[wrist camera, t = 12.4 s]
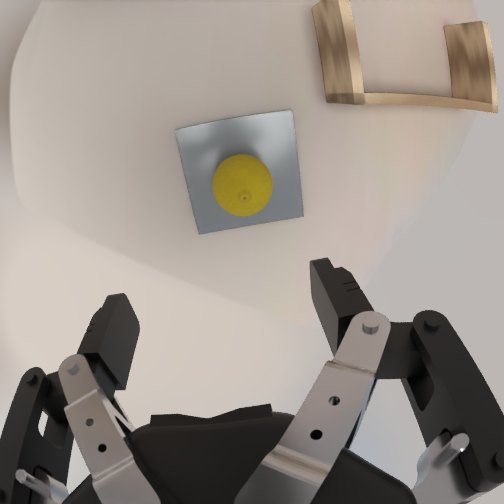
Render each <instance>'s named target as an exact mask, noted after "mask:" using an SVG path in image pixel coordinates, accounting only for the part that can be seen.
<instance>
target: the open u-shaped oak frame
mask: <svg viewBox="0 0 504 504" xmlns="http://www.w3.org/2000/svg"><path fill="white" fill-rule="evenodd" d="M312 12H313V17H314V22H315V28H316V33H317V39H318V44H319V50H320V57H321V63H322V70H323V77H324V84H325V91H326V99H327V102H328V103H342V104H353V105H360V104H401V105H425V106H440V107H452V108H461V109H470V110H478V111H485V112H492V113H498V106H497V89H496V88H497V87H496V75H495V67H494V58H493V52H492V45H491V39H490V34H489V28H488V23H486V22H483V21H478V22H469V23H461V24H455V25H448V26H444V31H445V37H446V42H447V49H448V56H449V63H450V72H451V82H452V95H453V97H445V96H435V95H423V94H408V93H380V92H364V87H363V79H362V71H361V64H360V57H359V50H358V44H357V38H356V33H355V27H354V22H353V17H352V12H351V7H350V3H349V0H321V1H320V2H319V3H318V4H317V5H316V6H315V7H314V8H313V9H312Z"/></svg>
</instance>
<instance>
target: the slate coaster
mask: <svg viewBox="0 0 504 504" xmlns="http://www.w3.org/2000/svg"><path fill="white" fill-rule="evenodd" d="M175 133H176V138H177V143H178V147H179V152H180V156H181V161H182V165H183V170H184V174H185V179H186V183H187V187H188V192H189V196H190V200H191V204H192V208H193V212H194V216H195V221H196V225H197V229H198V232H199V234H204V233H210V232H216V231H221V230H227V229H232V228H238V227H244V226H250V225H256V224H262V223H268V222H274V221H280V220H286V219H292V218H298V217H304V213H303V202H302V191H301V181H300V172H299V162H298V153H297V145H296V137H295V129H294V121H293V113H292V110H286V111H277V112H269V113H262V114H255V115H248V116H241V117H235V118H229V119H224V120H218V121H213V122H208V123H203V124H198V125H193V126H189V127H184V128H180V129H176V130H175ZM238 154H247V155H251V156H254V157H256V158H258V159H259V160H261V161H262V162H263V163H264V164H265V165H266V166H267V168H268V169H269V171H270V173H271V176H272V180H273V190H272V194H271V198H270V199H269V201H268V203H267V205H266V206H265V207H264V208H263V209H262V210H260V211H259V212H257V213H255V214H253V215H250V216H236V215H233V214H230V213H229V212H227V211H226V210H224V209H223V208H222V207H221V206H220V205H219V204H218V202H217V200H216V198H215V196H214V193H213V188H212V184H213V177H214V174H215V171H216V169H217V168H218V166H219V165H220V164H221V163H222V162H223V161H224V160H225V159H227V158H229V157H231V156H234V155H238Z"/></svg>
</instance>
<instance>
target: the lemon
mask: <svg viewBox="0 0 504 504" xmlns="http://www.w3.org/2000/svg"><path fill="white" fill-rule="evenodd" d="M212 188H213V193H214V196H215V198H216V200H217V202H218V204H219V205H220V206H221V207H222V208H223V209H224V210H226V211H227V212H229V213H230V214H233V215H236V216H250V215H253V214H255V213H257V212H259V211H260V210H262V209H263V208H264V207H265V206H266V205H267V203H268V201H269V199H270V198H271V194H272V190H273V180H272V176H271V173H270V171H269V169H268V168H267V166H266V165H265V164H264V163H263V162H262V161H261V160H259V159H258V158H256V157H254V156H251V155H247V154H238V155H234V156H231V157H229V158H227V159H225V160H224V161H223V162H222V163H221V164H220V165H219V166H218V168H217V169H216V171H215V174H214V177H213V184H212Z"/></svg>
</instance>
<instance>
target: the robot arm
mask: <svg viewBox="0 0 504 504" xmlns="http://www.w3.org/2000/svg"><path fill="white" fill-rule="evenodd" d="M310 280H311V294H312V300H313V303H314V306H315V309H316V311H317V314H318V317H319V319H320V322H321V324H322V327H323V329H324V332H325V335H326V337H327V340H328V343H329V345H330V348H331V351H332V353H333V355H334V359H333V360H332V361H327V362H326V363H325V365H324V367H323V368H322V370H321V372H320V374H319V376H318V378H317V380H316V381H315V383H314V385H313V387H312V389H311V390H310V392H309V394H308V395H307V397H306V399H305V401H304V402H303V404H302V406H301V407H300V409H299V411H298V413H297V414H296V416H294V415H291V414H288V413H282V412H272V408H271V404H265V405H259V406H252V407H245V408H239V409H236V410H233V411H230V412H227V413H224V414H221V415H218V416H215V417H212V418H200V417H194V416H188V415H182V414H164V415H151V420H150V424H147V425H144V426H141V427H139V428H137V429H135V428H134V426H133V425H132V423H131V422H130V420H129V418H128V417H127V415H126V414H125V412H124V410H123V408H122V407H121V405H120V403H119V402H118V400H117V398H116V397H115V396H114V393H115V390H125V389H126V385H127V380H128V376H129V372H130V368H131V363H132V359H133V355H134V351H135V348H136V344H137V340H138V336H139V332H140V326H139V321H138V319H137V317H136V315H135V312H134V310H133V308H132V306H131V304H130V302H129V300H128V298H127V296H126V295H125V294H124V293H120V294H114V295H108V296H107V298H106V300H105V302H104V304H103V306H102V308H100V309H99V310H98V311H97V312H96V313H95V314H94V315H93V317H92V319H91V321H90V326H88V328H87V330H86V331H87V332H86V333H85V335H84V337H83V340H82V342H81V344H80V347H79V349H78V352H77V354H75V355H72V356H69V357H68V358H66V359H65V360H64V361H63V362H62V363H61V365H60V367H59V370H58V371H57V372H54V373H51V374H48V375H46V374H45V373H44V371H43V370H42V369H41V368H39V367H34V368H31V369H29V370H28V371H27V372H26V373H25V374H24V375H23V376H22V378H21V381H20V383H19V386H18V388H17V391H16V393H15V396H14V399H13V401H12V404H11V407H10V410H9V413H8V416H7V419H6V422H5V425H4V428H3V431H2V435H1V438H0V504H466V503H468V502H470V501H472V500H474V499H476V498H478V497H480V496H482V495H484V494H485V493H487V492H489V491H491V490H492V489H494V488H496V487H497V486H499V485H501V484H502V483H504V415H503V413H502V411H501V409H500V407H499V405H498V403H497V401H496V399H495V398H494V395H493V393H492V392H491V390H490V388H489V386H488V384H487V383H486V381H485V379H484V377H483V375H482V374H481V372H480V370H479V369H478V367H477V365H476V363H475V362H474V360H473V358H472V357H471V355H470V354H469V352H468V351H467V349H466V347H465V346H464V344H463V342H462V341H461V339H460V338H459V336H458V335H457V333H456V332H455V330H454V329H453V327H452V326H451V324H450V323H449V321H448V320H447V318H446V317H445V316H444V315H442V314H441V313H439V312H436V311H433V310H425V311H421V312H419V313H418V314H416V316H415V317H414V319H413V322H403V323H402V322H401V323H398V322H397V323H396V322H390V321H389V319H388V318H387V317H386V316H384V315H383V314H381V313H379V312H375V311H374V310H373V308H372V306H371V304H370V303H369V302H368V300H367V298H366V296H365V295H364V293H363V291H362V290H361V289H360V287H359V285H358V283H357V282H356V280H355V279H354V277H353V275H352V274H351V273H350V272H349V271H347V270H346V269H344V268H343V267H339V268H334V267H333V265H332V264H331V262H330V260H329V259H328V258H322V259H317V260H312V261H310ZM378 379H401V382H402V384H403V386H404V389H405V391H406V393H407V396H408V399H409V401H410V403H411V406H412V409H413V411H414V414H415V417H416V419H417V422H418V424H419V427H420V430H421V432H422V435H423V438H424V441H425V444H426V447H427V449H426V450H425V451H424V452H423V454H422V455H421V456H420V458H419V460H418V463H417V471H418V478H417V482H416V484H415V486H414V488H413V489H411V490H410V488H409V487H408V486H407V485H405V484H404V483H403V482H401V481H400V480H398V479H396V478H394V477H393V476H391V475H389V474H387V473H385V472H384V471H382V470H381V469H379V468H377V467H376V466H374V465H372V464H371V463H369V462H368V461H366V460H364V459H363V458H361V457H360V456H358V455H356V454H355V453H353V452H351V451H350V450H349V449H350V447H351V445H352V443H353V440H354V438H355V436H356V434H357V432H358V429H359V427H360V424H361V421H362V419H363V416H364V414H365V411H366V409H367V406H368V404H369V401H370V399H371V396H372V394H373V391H374V388H375V386H376V383H377V380H378ZM42 411H44V412H45V413H46V414H47V415H48V420H47V423H46V427H45V431H44V435H43V437H42V435H41V434H40V432H39V429H38V424H39V420H40V417H41V413H42ZM74 437H75V440H76V442H77V444H78V447H79V449H80V452H81V454H82V456H83V458H84V460H85V463H86V465H87V467H88V469H89V471H90V473H91V474H90V475H89V476H88V477H87V478H86V479H85V480H84V481H83V482H82V483H81V484H80V485H79V486H78V487H77V488H76V489H75V490H74V491H73V492H72V493H71V494H70V495H69V494H68V490H67V488H66V483H67V476H68V469H69V462H70V457H71V450H72V445H73V440H74Z"/></svg>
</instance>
